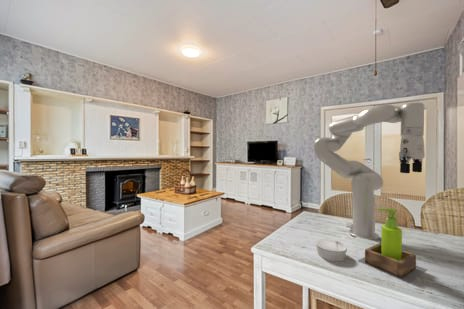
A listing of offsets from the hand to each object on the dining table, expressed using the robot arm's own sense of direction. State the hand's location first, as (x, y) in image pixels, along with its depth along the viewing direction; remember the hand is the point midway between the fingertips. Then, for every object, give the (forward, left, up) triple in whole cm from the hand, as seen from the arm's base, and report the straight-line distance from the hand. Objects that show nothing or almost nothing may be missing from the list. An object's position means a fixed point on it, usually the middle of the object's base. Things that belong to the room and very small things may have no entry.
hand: (411, 172), depth 90 cm
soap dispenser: (+2, -23, -32) cm, 40 cm away
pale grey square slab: (+2, -22, -34) cm, 40 cm away
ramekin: (-14, -34, -34) cm, 50 cm away
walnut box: (+2, -23, -33) cm, 40 cm away
